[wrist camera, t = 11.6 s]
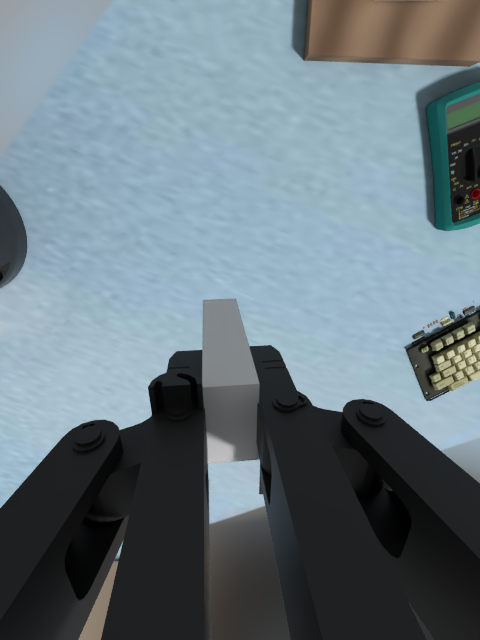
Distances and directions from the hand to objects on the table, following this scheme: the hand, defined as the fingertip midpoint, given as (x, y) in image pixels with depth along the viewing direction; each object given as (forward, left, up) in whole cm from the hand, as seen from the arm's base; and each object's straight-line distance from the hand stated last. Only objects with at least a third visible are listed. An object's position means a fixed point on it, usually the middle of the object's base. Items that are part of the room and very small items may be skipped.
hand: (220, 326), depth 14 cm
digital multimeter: (+30, +9, -25) cm, 40 cm away
